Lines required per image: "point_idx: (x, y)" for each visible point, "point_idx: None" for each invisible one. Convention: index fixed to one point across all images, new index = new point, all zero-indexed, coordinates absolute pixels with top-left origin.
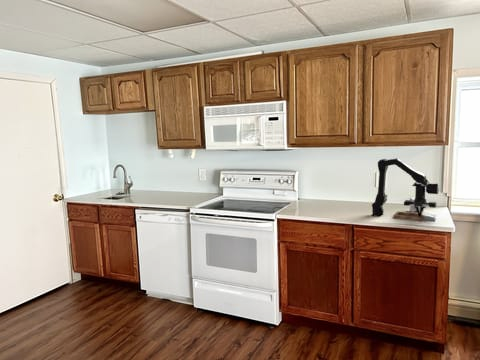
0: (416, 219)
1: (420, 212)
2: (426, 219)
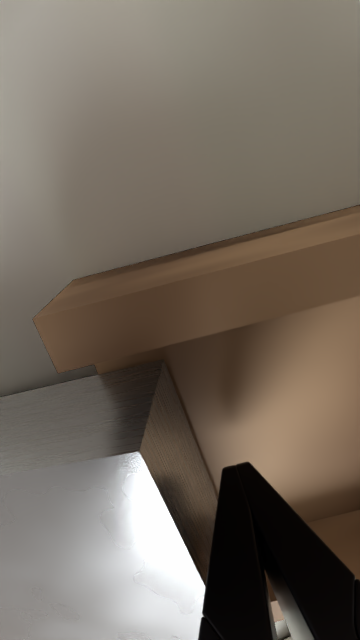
0: (226, 251)
1: (240, 587)
2: (42, 402)
